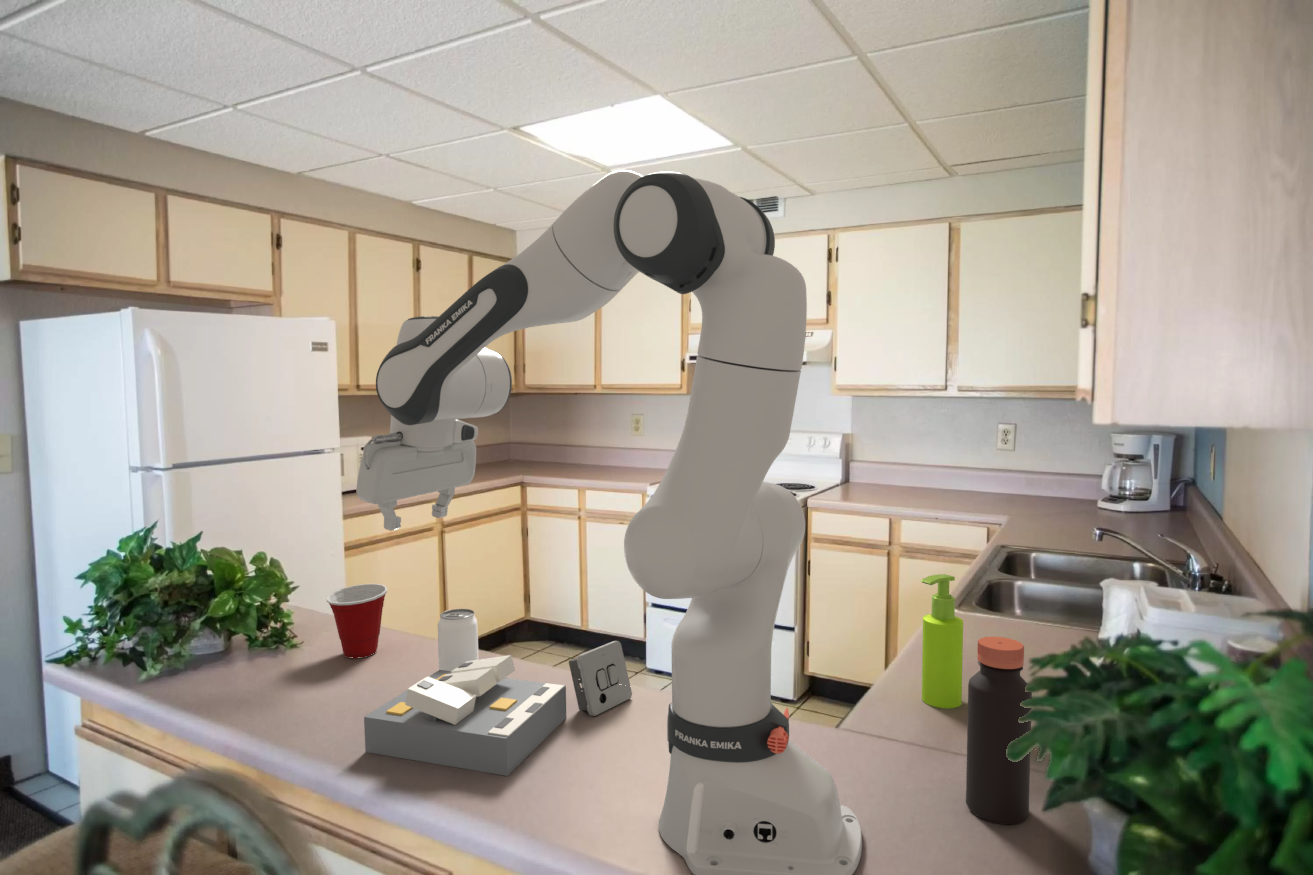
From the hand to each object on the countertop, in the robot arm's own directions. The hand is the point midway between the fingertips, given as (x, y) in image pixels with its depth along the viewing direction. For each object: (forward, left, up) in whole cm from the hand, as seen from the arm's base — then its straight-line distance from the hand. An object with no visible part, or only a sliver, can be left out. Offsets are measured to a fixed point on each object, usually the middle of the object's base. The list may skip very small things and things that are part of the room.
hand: (416, 522), depth 113 cm
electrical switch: (-23, -14, -31) cm, 41 cm away
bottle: (-79, 0, -31) cm, 84 cm away
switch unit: (-9, +1, -30) cm, 32 cm away
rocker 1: (-7, +6, -24) cm, 26 cm away
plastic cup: (+29, -22, -31) cm, 48 cm away
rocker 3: (-8, -5, -24) cm, 26 cm away
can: (+3, -15, -31) cm, 34 cm away
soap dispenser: (-73, -30, -31) cm, 85 cm away
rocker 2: (-8, +1, -24) cm, 26 cm away
